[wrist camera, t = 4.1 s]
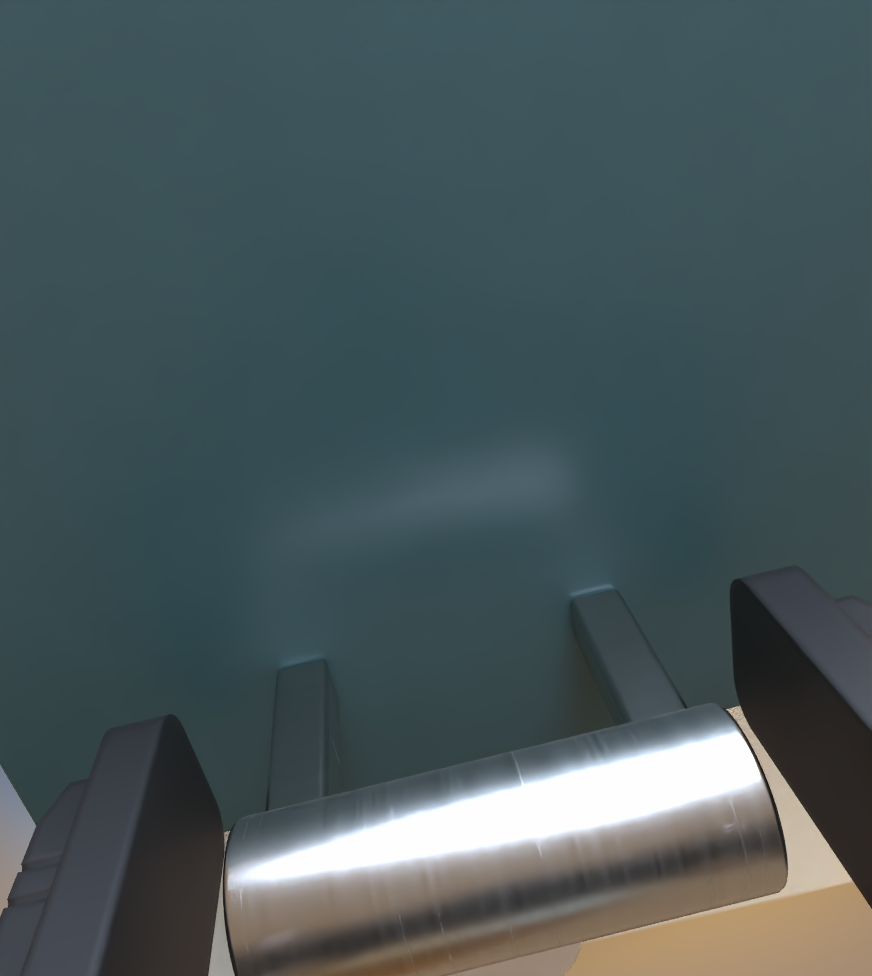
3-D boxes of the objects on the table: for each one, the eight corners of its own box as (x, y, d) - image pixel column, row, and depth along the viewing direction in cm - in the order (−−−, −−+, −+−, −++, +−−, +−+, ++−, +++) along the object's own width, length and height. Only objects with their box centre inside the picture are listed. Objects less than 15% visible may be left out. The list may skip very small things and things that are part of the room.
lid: (861, 638, 13) (1151, 930, 8) (76, 829, 13) (-61, 1237, 8) (905, -614, 7) (1962, -1913, 3) (-560, -302, 7) (-2342, -1105, 2)
